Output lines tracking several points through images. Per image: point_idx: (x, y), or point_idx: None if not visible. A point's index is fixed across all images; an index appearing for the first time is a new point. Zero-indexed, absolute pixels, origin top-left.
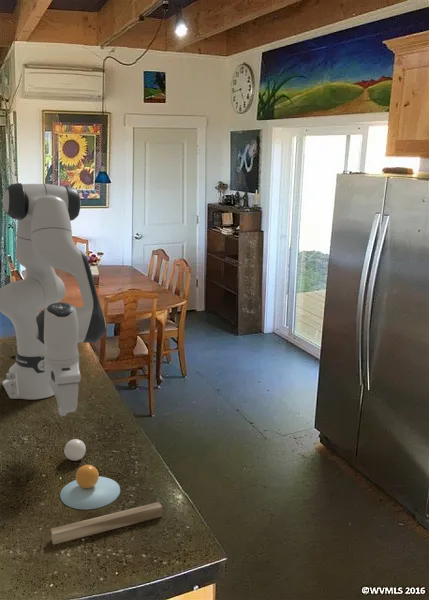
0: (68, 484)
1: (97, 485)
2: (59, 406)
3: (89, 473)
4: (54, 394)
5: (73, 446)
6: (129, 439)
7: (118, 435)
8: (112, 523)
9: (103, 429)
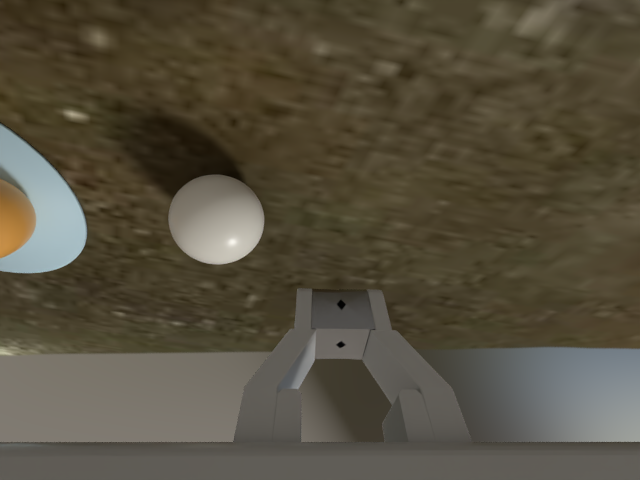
0: (5, 133)
1: None
2: (368, 334)
3: None
4: (438, 472)
5: (175, 228)
6: None
7: None
8: None
9: (396, 299)
